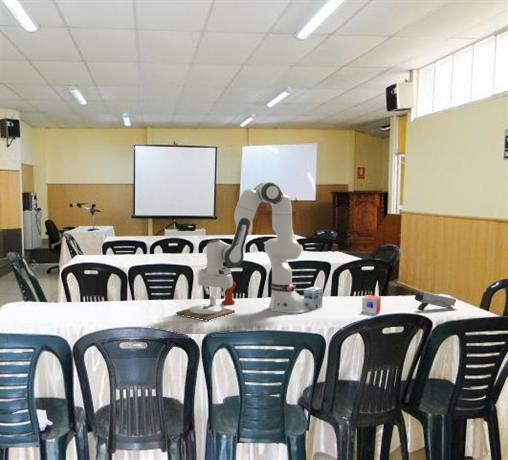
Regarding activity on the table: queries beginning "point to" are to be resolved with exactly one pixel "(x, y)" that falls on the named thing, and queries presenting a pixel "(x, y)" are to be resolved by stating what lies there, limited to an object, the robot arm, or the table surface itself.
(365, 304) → the puzzle cube
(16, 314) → the table surface
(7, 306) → the table surface
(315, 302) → the light bulb box
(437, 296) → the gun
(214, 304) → the dial
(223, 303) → the toy drill
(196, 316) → the cardboard mat
